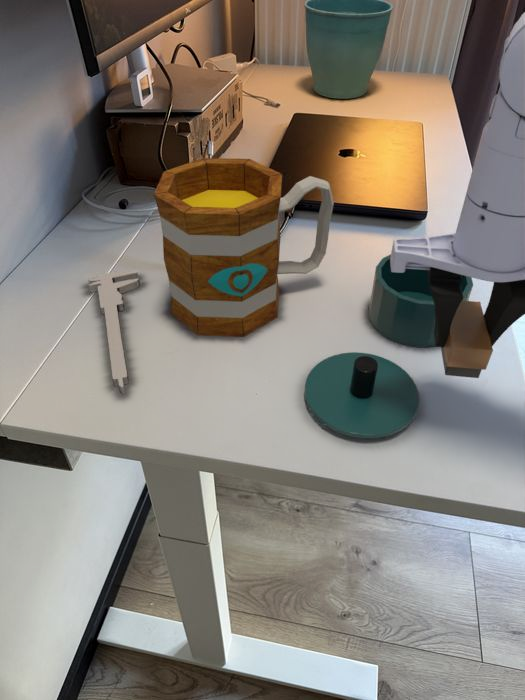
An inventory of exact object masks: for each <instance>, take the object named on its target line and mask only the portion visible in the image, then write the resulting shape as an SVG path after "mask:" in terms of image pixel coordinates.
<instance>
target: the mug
mask: <svg viewBox="0 0 525 700" xmlns="http://www.w3.org/2000/svg"><path fill="white" fill-rule="evenodd" d="M282 183H283V173H281V172H278V171H277V170H275V169H272V168H270V167H268V166H266V165H264V164H262V163H260V162H258V161H255V160H253V159H251V158H229V157H228V158H227V157H225V158H223V157H221V158H220V157H201V158H199V159H196V160H193V161H190V162H188V163H184V164H182V165H178V166H176V167H173V168H169V169H167V170H164V171H163V173H162V175H161V177H160V179H159V181H158V184H157V185H156V188H155V191H154V193H153V196H154V200H155V203H156V207H157V211H158V214H159V217H160V218H159V219H160V225H161V233H162V249H163V250H162V251H163V261H164V265H165V270H166V274H167V277H168V278H167V279H168V283H169V289H170V307H171V308H170V311H171V312H170V314H171V315H172V316H173V317H175V318H176V319H177V320H178V321H180V322H181V323H182V324H183V325H185V326H186V327H187V328H188V329H190V331H192V332H193V333H194V334H196V335H197V336H213V337H238V338H239V337H242V338H244V337H246V336H248V335H250V334H251V333H254V331H256V330H258V329H260V328H261V327H263V326H265V325H267V324H268V323H270V322H272V321H274V320H275V319H277V318H278V317H279V301H280V286H279V285H280V284H279V277H278V275H288V274H290V275H291V274H298V275H306V274H308V273H310V272H312V271H314V270H315V269H317V268H319V266H320V265H321V263H322V261H323V259H324V258H325V256H326V255H327V254H326V253H327V248H328V241H329V235H330V224H331V219H332V215H333V210H334V204H335V201H334V197H333V196H334V195H333V193H332V188H331V185H330V183H329V181H327V180H326V179H322V178H318V177H315V176H312V175H309V176H307V177H305V178H303V179H302V180H300V181H297V182H296V183H295V184H294V186H292V188H290V190H289V191H288V192H287V193H286V194H285V195H284V196H282ZM315 189H316V190H317V189H318V190H320V193H321V203H320V208H319V212H318V217H317V221H316V222H317V223H316V233H315V234H316V236H315V242H314V243H315V244H314V248H313V250H312V251H311V254H310V257H308V258H306V259H305V260H302V261H293V260H281V261H280V251H281V249H280V248H281V226H280V213H282V212H283V213H284V212H286V211H290V210H292V209H293V208H295V206H297V205H298V203H299V202H300V201H301V200H302V199H303V197H304V196H305V195H306V194H308V193H310V192H312V191H313V190H315Z"/></svg>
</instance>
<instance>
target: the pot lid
mask: <svg viewBox="0 0 525 700" xmlns="http://www.w3.org/2000/svg"><path fill="white" fill-rule="evenodd" d="M304 396H305V401H306V405H307V407H308V408H309V410H310V412H311V413H312V415H314V417H315V418H316V419H317V420H318V421H319V422H321V423H322V424H323V425H324V426H327V427H328V428H329V429H331V430H333V431H335V432H336V433H338V434H339V433H340V434H342V435H345V436H348V437H352V438H359V439H379V438H385V437H388V436H392V435H394V434H396V433H398V432H400V431H402V430H404V429H405V428H406V427H407V426H409V425H410V423H412V421H413V420H414V418H415V417H416V414H417V412H418V409H419V405H420V395H419V390H418V388H417V385H416V383H415V381H414V380H413V378H412V377H411V375H410V374H409V373H408V372H407V371H406V370H404V368H403V367H401V366H399V365H398V364H397V363H395V362H393V361H392V360H389V359H387V358H385V357H382V356H380V355H376V354H372V353H367V352H343V353H339V354H338V353H337V354H334V355H331V356H329V357H326V358H324V359H322V360H321V361H320V362H318V363H317V364H316V365H315V366H314V367H313V368H312V369H311V370H310V372H309V373H308V375H307V377H306V379H305V383H304Z"/></svg>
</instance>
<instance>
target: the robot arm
mask: <svg viewBox="0 0 525 700" xmlns="http://www.w3.org/2000/svg"><path fill="white" fill-rule="evenodd" d="M498 71H499V72H498V79H499V88H498V92H497V93H495V95H494V97H493V98H492V101H491V106H490V109H489V118H490V119H489V120H488V121H487V122H486V123H485V125H484V127H483V129H482V132H481V137H480V140H479V143H478V148H477V151H476V156H475V159H474V163H473V167H472V169H471V174H470V177H469V181H468V184H467V189H466V192H465V196H464V201H463V204H462V208H461V211H460V214H459V215H460V216H459V219H458V222H457V226H456V230H455V233H448V234H440V235H431V236H423V237H416V238H415V237H414V238H394V239H393V241H392V247H391V252H390V254H391V257H390V264H391V272H396V273H404V272H405V269H419V270H427V273H428V279H429V286H430V291H431V295H432V298H433V301H434V305H435V329H434V337H435V343H436V346H435V347H437V348H441V347H444V346H445V344H446V341H447V339H448V336H449V331H450V327H451V323H452V320H453V318H454V315H455V313H456V311H457V309H458V307H459V305H460V303H461V301H462V300H463V294H462V289H461V282H462V279H461V276H460V275H464V276H468V277H471V278H472V279H475V280H479V281H485V282H491V283H493V284H492V288H491V289H492V290H491V293H490V297H489V300H488V304H487V306H486V309H485V312H484V313H483V314H484V318H485V322H486V326H487V330H488V333H489V337H490V341H491V345H492V347H493V346H494V345H495V344H496V342H497V341H498V340H499V339H500V338H501V337H502V335H503V334H504V333H505V332H506V331H507V330H508V329H509V328H510V327H511V326H512V325H513V324H514V323H515V322H517V321H518V320H519V319H520V318H521V317H523V316H524V315H525V11H524V12H523V13H522V14H521V16H520V17H519V18H518V20H517V21H516V22H515V23H514V25H513V26H512V29H511V31H510V32H509V35H508V36H507V38H506V39H505V40H504V45H503V53H502V56H501V59H500V64H499V70H498Z"/></svg>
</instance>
